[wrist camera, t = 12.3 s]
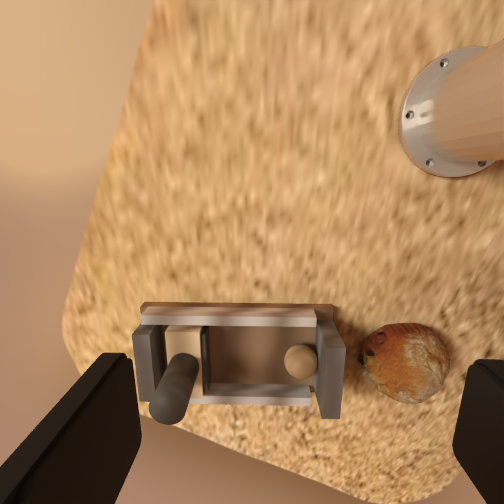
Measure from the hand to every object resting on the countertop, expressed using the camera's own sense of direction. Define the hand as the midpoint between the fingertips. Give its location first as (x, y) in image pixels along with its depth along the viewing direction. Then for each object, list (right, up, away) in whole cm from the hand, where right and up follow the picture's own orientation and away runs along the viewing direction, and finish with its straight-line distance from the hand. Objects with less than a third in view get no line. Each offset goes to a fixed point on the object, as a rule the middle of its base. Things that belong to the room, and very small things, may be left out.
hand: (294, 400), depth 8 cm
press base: (-3, -8, +31) cm, 33 cm away
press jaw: (-9, -9, +30) cm, 32 cm away
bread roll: (+18, -9, +31) cm, 37 cm away
